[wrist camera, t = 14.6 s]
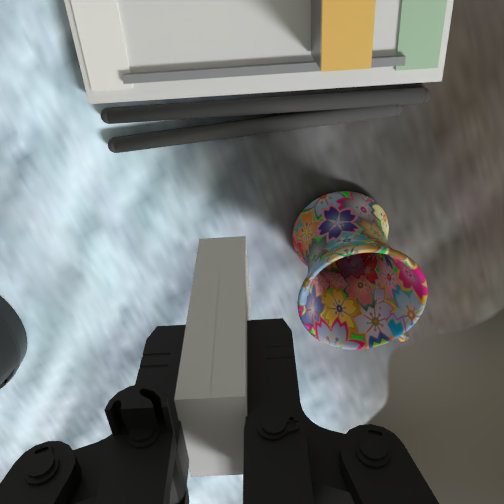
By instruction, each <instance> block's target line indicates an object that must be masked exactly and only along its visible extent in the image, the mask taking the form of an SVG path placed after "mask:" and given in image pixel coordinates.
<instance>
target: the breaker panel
mask: <svg viewBox="0 0 504 504" xmlns="http://www.w3.org/2000/svg"><path fill="white" fill-rule="evenodd" d="M453 1H454V0H376V6H375V20H374V35H373V49H372V64H371V68H370V69H355V70H340V71H325V72H321V70H320V69H319V67H318V65H317V64H316V62H315V60H314V59H313V57H312V55H311V0H64V2H65V6H66V10H67V15H68V19H69V23H70V27H71V31H72V35H73V39H74V44H75V48H76V52H77V56H78V60H79V64H80V69H81V73H82V77H83V81H84V85H85V89H86V93H87V98H88V102H89V104H99V103H114V102H130V101H145V100H160V99H176V98H191V97H207V96H222V95H237V94H253V93H268V92H283V91H299V90H314V89H330V88H345V87H360V86H376V85H391V84H407V83H422V82H437V81H442V76H443V69H444V63H445V56H446V49H447V42H448V35H449V28H450V22H451V15H452V8H453Z"/></svg>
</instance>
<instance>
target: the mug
mask: <svg viewBox="0 0 504 504" xmlns="http://www.w3.org/2000/svg"><path fill="white" fill-rule="evenodd" d="M388 232H389V226H388V220H387V217H386V214H385V212H384V211H383V209H382V208H381V207H380V205H379V204H378V203H377V202H375V201H374V200H373V199H371V198H370V197H368V196H366V195H363V194H361V193H357V192H351V191H339V192H333V193H329V194H326V195H324V196H321V197H319V198H317V199H316V200H314V201H313V202H311V203H310V204H309V205H308V206H307V207H305V209H304V210H303V211H302V212H301V213H300V215H299V217H298V218H297V220H296V223H295V226H294V229H293V245H294V249H295V251H296V253H297V255H298V257H299V258H300V259H301V261H302V262H303V263H304V264H305V265H307V266H308V275H307V277H306V278H305V280H304V282H303V284H302V286H301V289H300V291H299V296H298V312H299V316H300V319H301V321H302V323H303V325H304V326H305V328H306V329H307V330H308V331H309V333H310V334H311V335H313V336H314V337H315V338H316V339H318V340H319V341H321V342H323V343H325V344H327V345H330V346H333V347H337V348H342V349H353V350H357V349H368V348H373V347H377V346H380V345H383V344H386V343H388V342H390V341H392V340H394V339H396V338H397V339H398V340H399V341H402V342H403V341H405V340H407V339H408V338H409V334H408V330H409V329H410V328H411V327H412V326H413V325H414V324H415V323H416V321H417V320H418V319H419V317H420V316H421V314H422V312H423V310H424V307H425V305H426V301H427V293H428V289H427V282H426V279H425V276H424V274H423V272H422V270H421V269H420V268H419V266H418V265H417V264H416V263H415V262H414V261H413V260H412V259H411V258H409V257H408V256H406V255H405V254H403V253H401V252H399V251H397V250H394V249H392V248H391V247H390V246H389V245H388V243H387V238H388Z"/></svg>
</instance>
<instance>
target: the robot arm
mask: <svg viewBox="0 0 504 504" xmlns="http://www.w3.org/2000/svg"><path fill="white" fill-rule="evenodd" d="M26 350H27V336H26V331H25V328H24V326H23V324H22V322H21V320H20V318H19V317H18V315H17V314H16V312H15V311H14V310H13V309H12V307H11V306H10V305H9V304H8V303H7V302H6V301H5V300H4V299H2V298H1V297H0V389H1V388H2V387H3V386H5V385H6V384H7V383H8V382H9V381H10V380H11V379H12V377H13V376H14V375H15V373H16V371H17V370H18V368H19V366H20V364H21V362H22V360H23V359H24V356H25V354H26ZM105 413H106V416H107V419H108V422H109V425H110V428H111V431H112V434H111V435H110V436H108V437H107V438H105V439H103V440H101V441H99V442H96V443H94V444H91V445H88V446H85V447H82V448H79V449H76V450H72V449H71V447H70V446H69V445H68V444H65V443H63V442H61V441H48V442H45V443H42V444H39V445H36V446H34V447H33V448H31V449H29V450H28V451H26V452H25V453H24V454H23V455H22V456H21V457H20V458H19V459H18V460H17V461H16V462H15V463H14V465H13V466H12V468H11V469H10V470H9V472H8V473H7V475H6V476H5V478H4V479H3V480H2V482H1V483H0V504H189V494H188V488H187V477H188V468H189V470H190V475H191V477H196V476H218V475H239V474H243V504H439V503H438V501H437V499H436V498H435V496H434V494H433V493H432V491H431V489H430V488H429V486H428V484H427V483H426V481H425V479H424V478H423V476H422V474H421V473H420V471H419V469H418V468H417V466H416V464H415V463H414V461H413V459H412V458H411V456H410V454H409V453H408V451H407V449H406V448H405V446H404V444H403V443H402V442H401V441H400V439H399V438H397V436H396V435H395V434H394V433H392V432H391V431H389V430H387V429H386V428H384V427H380V426H376V425H372V424H369V425H359V426H357V427H355V428H352V429H350V430H349V431H348V432H347V433H346V434H343V433H339V432H335V431H331V430H327V429H325V428H322V427H320V426H318V425H316V424H315V423H313V422H312V421H311V420H310V419H309V418H308V417H307V416H306V415H305V413H304V412H303V410H302V407H301V403H300V397H299V388H298V380H297V371H296V363H295V355H294V347H293V338H292V330H291V329H290V328H289V326H288V325H287V324H286V322H285V321H284V320H283V318H282V319H263V320H251V299H250V287H249V274H248V261H247V249H246V236H242V237H225V238H208V239H199V245H198V252H197V258H196V265H195V271H194V277H193V284H192V290H191V296H190V303H189V309H188V315H187V322H186V325H173V326H157V327H156V328H155V330H154V331H153V332H152V333H151V335H150V336H149V337H148V338H147V340H146V344H145V348H144V352H143V357H142V360H141V364H140V369H139V372H138V376H137V380H136V384H135V385H134V386H130V387H128V388H126V389H124V390H122V391H120V392H118V393H117V394H116V395H115V396H114V397H113V398H112V399H111V400H110V401H109V403H108V404H107V406H106V408H105Z"/></svg>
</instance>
